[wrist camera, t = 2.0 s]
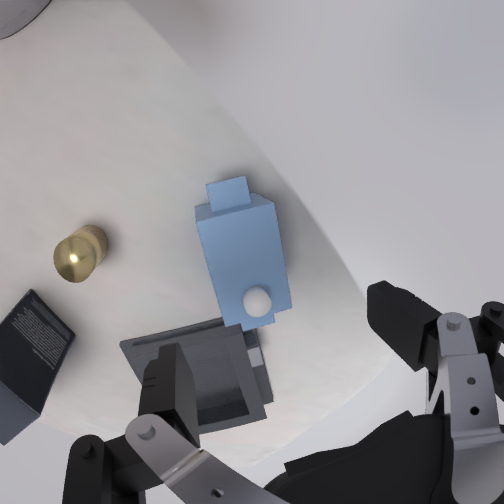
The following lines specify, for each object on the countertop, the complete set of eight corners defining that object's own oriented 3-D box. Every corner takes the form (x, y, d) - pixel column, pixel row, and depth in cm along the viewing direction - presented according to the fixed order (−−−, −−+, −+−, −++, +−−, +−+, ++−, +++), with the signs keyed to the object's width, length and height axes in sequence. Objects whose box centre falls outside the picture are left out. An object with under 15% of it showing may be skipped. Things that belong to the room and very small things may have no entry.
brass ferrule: (69, 231, 19) (47, 246, 15) (100, 220, 19) (83, 233, 16) (81, 266, 20) (63, 287, 16) (112, 257, 20) (98, 276, 17)
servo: (189, 184, 20) (188, 194, 14) (249, 170, 21) (273, 174, 15) (222, 308, 24) (234, 355, 18) (273, 293, 24) (300, 336, 18)
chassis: (120, 341, 23) (114, 360, 20) (250, 309, 24) (257, 326, 22) (168, 422, 27) (168, 440, 24) (272, 398, 28) (279, 415, 26)
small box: (35, 381, 22) (5, 450, 12) (-6, 340, 20) (-49, 401, 10) (80, 336, 22) (43, 421, 12) (30, 285, 19) (-31, 353, 10)
